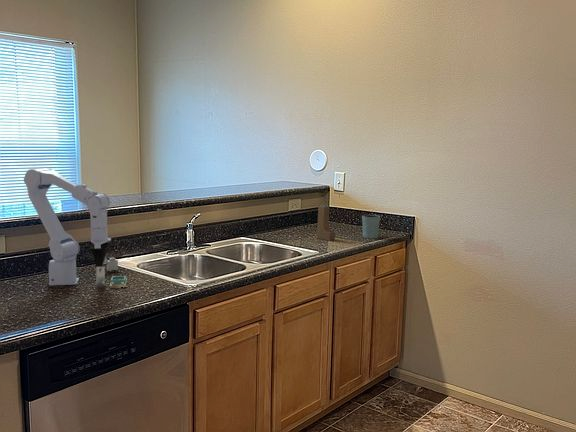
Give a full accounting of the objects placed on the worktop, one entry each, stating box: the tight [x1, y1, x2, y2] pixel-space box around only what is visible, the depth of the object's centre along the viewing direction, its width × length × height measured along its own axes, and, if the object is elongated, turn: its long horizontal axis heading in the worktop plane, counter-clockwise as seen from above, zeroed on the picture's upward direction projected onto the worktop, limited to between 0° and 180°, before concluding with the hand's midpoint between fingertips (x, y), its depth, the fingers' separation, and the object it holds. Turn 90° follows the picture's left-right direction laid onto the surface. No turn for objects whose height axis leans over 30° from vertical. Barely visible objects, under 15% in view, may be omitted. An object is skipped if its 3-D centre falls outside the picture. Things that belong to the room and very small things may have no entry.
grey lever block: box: [103, 255, 119, 272], centre depth 227 cm, size 7×2×8 cm, turn 133°
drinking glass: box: [361, 214, 381, 239], centre depth 312 cm, size 10×10×12 cm
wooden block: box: [316, 204, 336, 242], centre depth 302 cm, size 9×4×18 cm, turn 47°
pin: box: [95, 266, 106, 288], centre depth 206 cm, size 3×3×7 cm
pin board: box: [109, 275, 128, 289], centre depth 209 cm, size 6×9×2 cm, turn 13°
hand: (100, 263), depth 205 cm, fingers open, 7 cm apart
